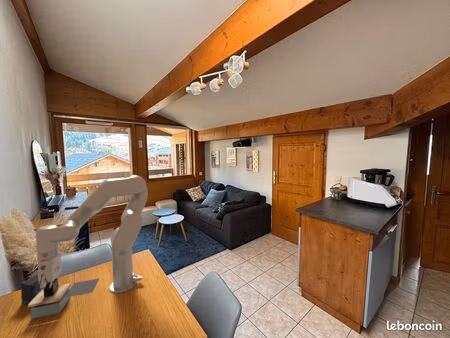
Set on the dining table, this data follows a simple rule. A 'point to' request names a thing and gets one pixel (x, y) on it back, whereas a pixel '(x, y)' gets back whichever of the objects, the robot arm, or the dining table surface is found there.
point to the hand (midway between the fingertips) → (51, 292)
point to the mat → (83, 287)
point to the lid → (57, 296)
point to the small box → (30, 289)
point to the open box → (50, 307)
